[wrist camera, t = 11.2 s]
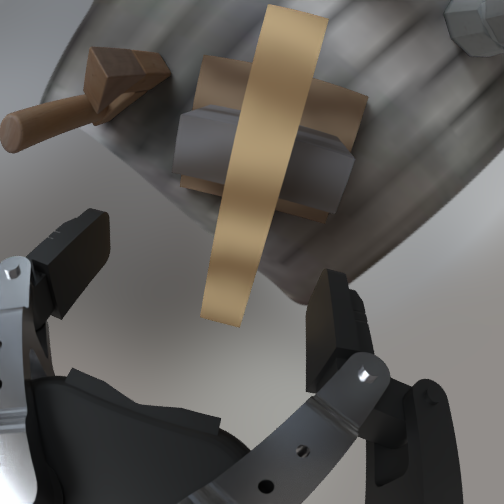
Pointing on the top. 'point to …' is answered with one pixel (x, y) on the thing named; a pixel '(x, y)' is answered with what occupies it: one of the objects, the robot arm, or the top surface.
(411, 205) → the top surface
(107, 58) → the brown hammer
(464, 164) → the top surface
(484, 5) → the coffee maker
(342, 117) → the ridge stand
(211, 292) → the oak bar
